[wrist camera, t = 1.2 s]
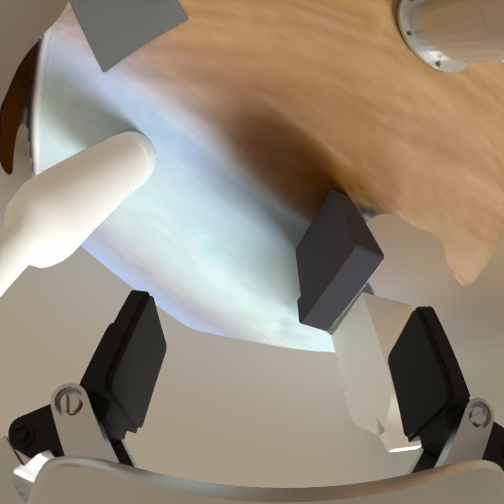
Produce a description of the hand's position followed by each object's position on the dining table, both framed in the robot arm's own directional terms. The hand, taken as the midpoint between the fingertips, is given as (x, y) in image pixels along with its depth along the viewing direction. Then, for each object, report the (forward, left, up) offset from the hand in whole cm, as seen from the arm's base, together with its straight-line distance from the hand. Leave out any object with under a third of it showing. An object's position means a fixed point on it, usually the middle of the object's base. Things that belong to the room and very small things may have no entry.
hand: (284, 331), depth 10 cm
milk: (-5, +36, -30) cm, 47 cm away
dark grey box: (-2, +13, -30) cm, 32 cm away
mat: (+9, -29, -30) cm, 42 cm away
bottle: (+18, -7, -30) cm, 35 cm away
